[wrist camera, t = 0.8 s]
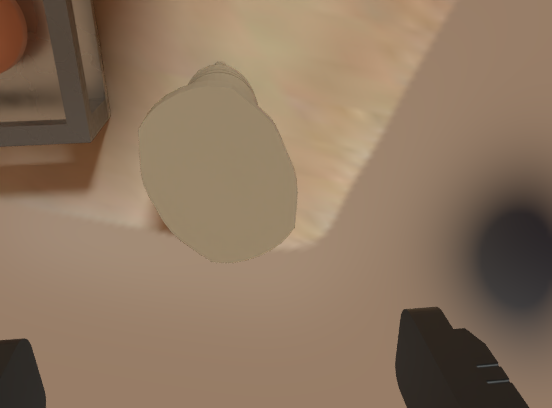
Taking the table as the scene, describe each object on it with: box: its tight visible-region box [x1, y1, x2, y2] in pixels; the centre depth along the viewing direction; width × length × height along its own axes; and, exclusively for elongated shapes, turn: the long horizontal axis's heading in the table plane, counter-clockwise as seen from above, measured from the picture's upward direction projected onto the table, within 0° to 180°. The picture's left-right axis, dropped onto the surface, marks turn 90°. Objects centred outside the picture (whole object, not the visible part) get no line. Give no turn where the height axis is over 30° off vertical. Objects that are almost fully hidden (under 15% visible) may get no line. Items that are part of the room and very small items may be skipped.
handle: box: [138, 62, 298, 263], centre depth 24 cm, size 5×6×15 cm
